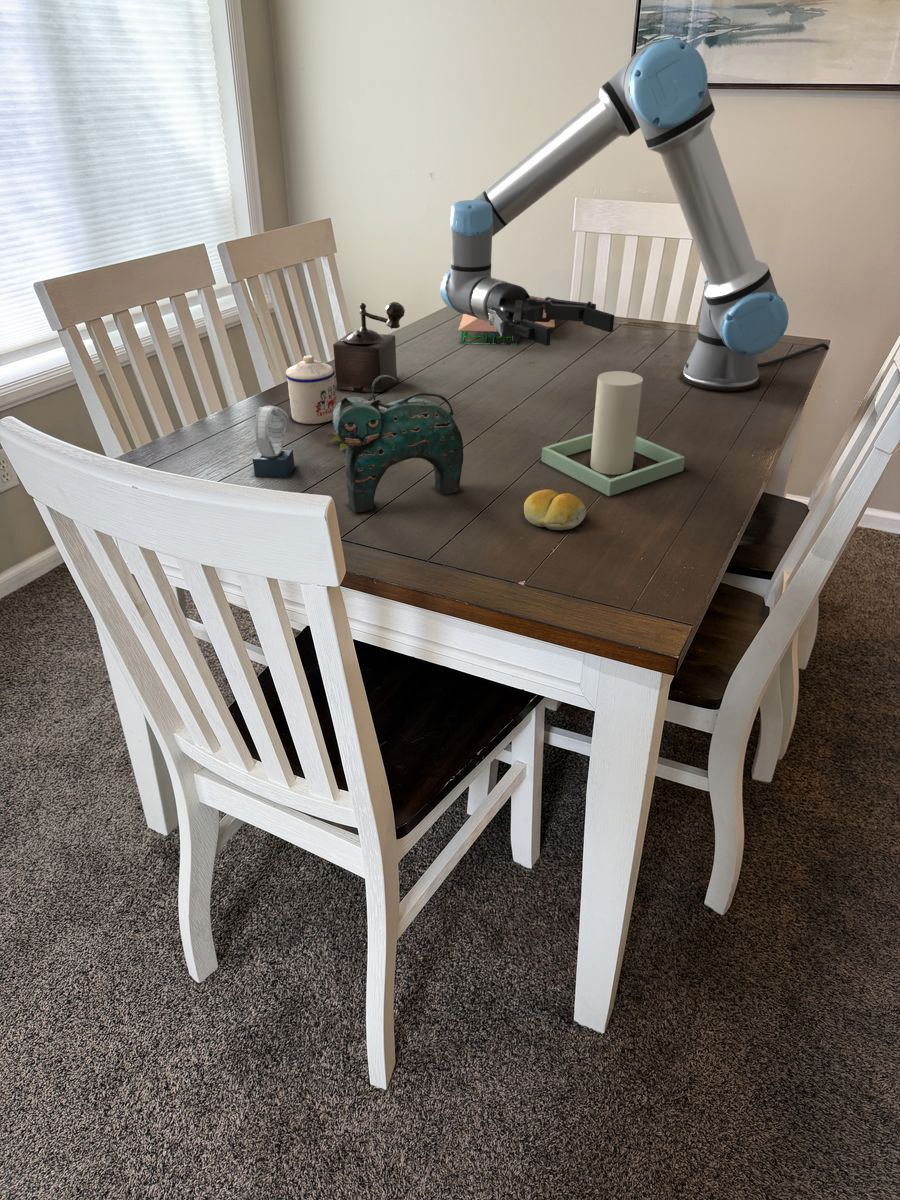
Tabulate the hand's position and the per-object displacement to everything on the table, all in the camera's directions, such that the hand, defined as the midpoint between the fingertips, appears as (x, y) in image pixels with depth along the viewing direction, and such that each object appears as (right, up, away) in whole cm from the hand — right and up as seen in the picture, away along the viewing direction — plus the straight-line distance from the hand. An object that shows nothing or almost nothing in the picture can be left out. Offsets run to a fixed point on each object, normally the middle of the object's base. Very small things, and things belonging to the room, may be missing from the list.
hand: (581, 330), depth 134 cm
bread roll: (-6, -32, -11) cm, 34 cm away
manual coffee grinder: (-37, +1, +40) cm, 54 cm away
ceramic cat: (-29, -28, -5) cm, 41 cm away
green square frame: (+6, -21, +4) cm, 23 cm away
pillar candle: (+6, -21, +4) cm, 23 cm away
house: (-6, +26, +78) cm, 82 cm away
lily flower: (-37, -15, +15) cm, 43 cm away
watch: (-51, -22, +4) cm, 56 cm away
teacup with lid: (-47, -8, +26) cm, 54 cm away
